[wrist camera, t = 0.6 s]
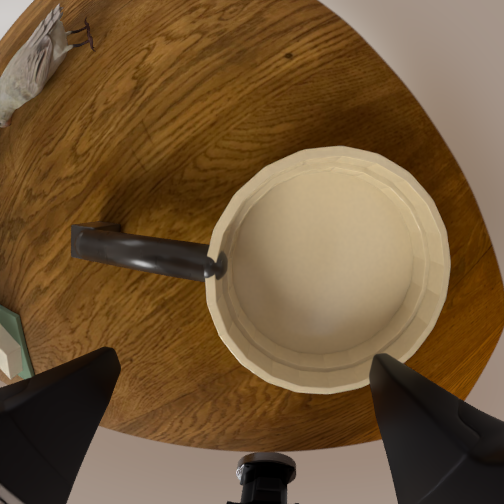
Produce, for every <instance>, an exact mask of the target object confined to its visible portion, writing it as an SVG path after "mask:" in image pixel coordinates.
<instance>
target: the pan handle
mask: <svg viewBox="0 0 504 504" xmlns="http://www.w3.org/2000/svg"><path fill="white" fill-rule="evenodd" d="M209 246H210V245H207V244H200V243H193V242H185V241H178V240H171V239H164V238H156V237H149V236H142V235H134V234H127V233H120V224H117V223H109V222H100V221H97V222H89V223H82V224H74V225H72V226H71V256H72V257H75V258H79V259H84V260H89V261H93V262H99V263H104V264H109V265H114V266H119V267H124V268H129V269H134V270H139V271H144V272H150V273H155V274H161V275H166V276H172V277H177V278H183V279H189V280H195V281H201V282H205V278H210V277H212V276H213V275H214V274H215V276H216V279H217V280H220V279H221V278H222V277H223V276H224V275H225V274H226V272H227V269H228V259H227V256H226V254H225V253H224V252H223V250H222V251H221V252H220V254H219V257H218V259H217V262H216V263H215V261H214V260H213V259H212V258H211V257H208V256H207V254H208V250H209Z"/></svg>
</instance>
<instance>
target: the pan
mask: <svg viewBox="0 0 504 504" xmlns="http://www.w3.org/2000/svg"><path fill="white" fill-rule="evenodd" d="M222 250H223V252H224V253H225V254H226V256H227V259H228V269H227V272H226V274H225V275H224V276H223V277H222V278H221V279H220V280H217V279H216V276H215V274H214V275H213V276H212V277H210V278H205V284H206V299H207V305H208V308H209V311H210V313H211V316H212V319H213V321H214V324H215V326H216V329H217V332H218V334H219V336H220V338H221V339H222V341H223V342H224V343H225V344H226V346H227V347H228V348H229V350H230V351H231V352H232V353H233V355H234V356H235V357H236V358H237V360H238V361H239V362H240V363H241V364H242V365H243V366H245V367H246V368H248V369H249V370H250V371H252V372H253V373H255V374H256V375H257V376H259V377H260V378H262V379H263V380H265V381H266V382H269V383H271V384H274V385H277V386H280V387H283V388H286V389H289V390H292V391H295V392H301V393H315V394H333V393H338V392H344V391H349V390H353V389H358V388H362V387H364V386H366V385H368V384H370V381H369V372H370V368H371V364H372V360H373V357H374V355H375V354H380V353H387V354H389V355H390V356H392V357H393V358H395V359H397V360H398V361H400V362H401V363H404V362H405V361H406V360H408V359H409V358H410V357H411V356H412V355H414V353H415V352H416V351H417V350H418V348H419V347H420V346H421V344H422V343H423V342H424V340H425V339H426V338H427V336H428V335H429V334H430V332H431V331H432V329H433V327H434V326H435V324H436V321H437V319H438V317H439V314H440V312H441V309H442V307H443V305H444V302H445V299H446V296H447V289H448V283H449V275H450V267H451V265H450V264H451V261H450V252H449V245H448V238H447V232H446V228H445V226H444V223H443V221H442V219H441V216H440V214H439V212H438V209H437V207H436V205H435V203H434V201H433V200H432V198H431V197H430V195H429V194H428V193H427V192H426V191H425V189H424V188H423V187H422V186H421V185H420V184H419V183H418V181H417V180H416V179H415V178H414V177H413V176H412V175H411V174H410V173H409V172H408V171H406V170H405V169H403V168H402V167H400V166H398V165H397V164H395V163H393V162H392V161H390V160H388V159H387V158H385V157H383V156H382V155H380V154H377V153H373V152H369V151H365V150H360V149H356V148H351V147H346V146H331V147H321V148H312V149H304V150H301V151H298V152H296V153H294V154H291V155H289V156H287V157H285V158H282V159H280V160H278V161H276V162H274V163H271V164H269V165H267V166H266V167H264V168H263V169H262V170H261V171H259V172H258V173H257V174H256V175H255V176H254V177H253V178H252V179H250V180H249V181H248V182H247V183H246V184H245V185H244V186H243V187H242V188H240V189H239V190H238V191H237V192H236V193H235V194H234V196H233V197H232V199H231V201H230V202H229V204H228V205H227V207H226V209H225V210H224V212H223V214H222V216H221V217H220V219H219V221H218V222H217V224H216V226H215V227H214V230H213V233H212V237H211V241H210V246H209V250H208V254H207V256H208V257H211V258H212V259H213V260H214V261H215V263H216V262H217V259H218V257H219V254H220V252H221V251H222Z"/></svg>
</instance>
